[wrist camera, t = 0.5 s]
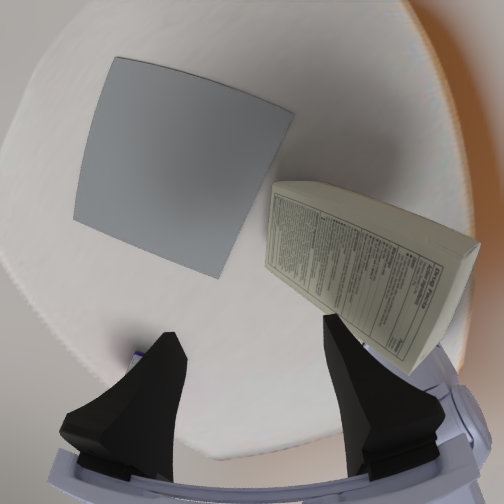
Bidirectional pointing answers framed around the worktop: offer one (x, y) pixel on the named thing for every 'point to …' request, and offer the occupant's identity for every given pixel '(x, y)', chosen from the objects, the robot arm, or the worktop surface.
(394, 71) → the worktop surface
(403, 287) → the skincare box
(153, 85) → the rubber mat
